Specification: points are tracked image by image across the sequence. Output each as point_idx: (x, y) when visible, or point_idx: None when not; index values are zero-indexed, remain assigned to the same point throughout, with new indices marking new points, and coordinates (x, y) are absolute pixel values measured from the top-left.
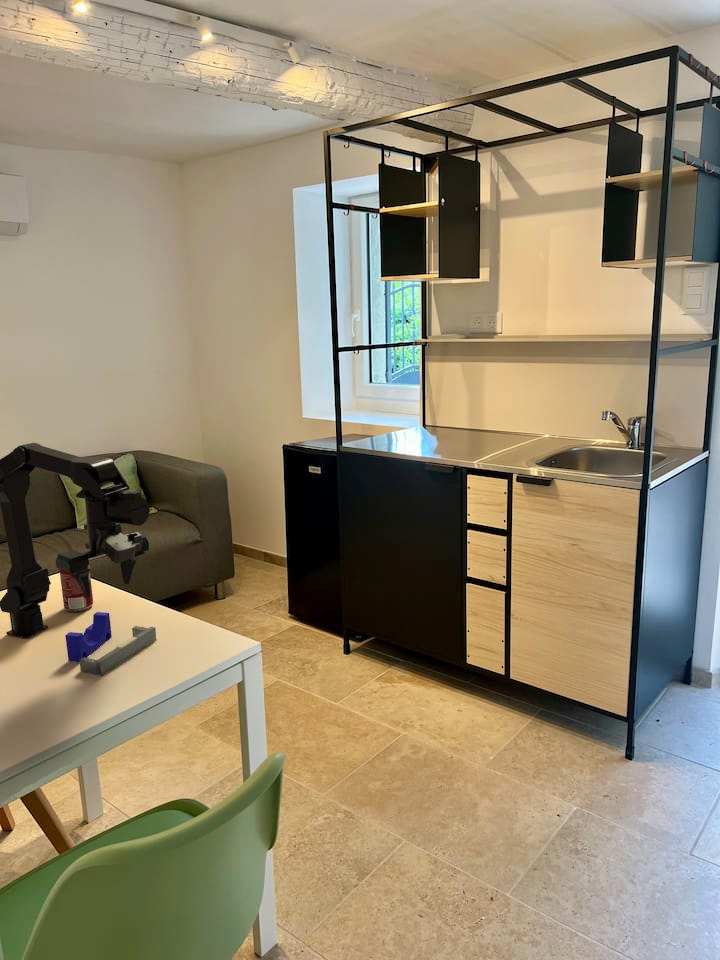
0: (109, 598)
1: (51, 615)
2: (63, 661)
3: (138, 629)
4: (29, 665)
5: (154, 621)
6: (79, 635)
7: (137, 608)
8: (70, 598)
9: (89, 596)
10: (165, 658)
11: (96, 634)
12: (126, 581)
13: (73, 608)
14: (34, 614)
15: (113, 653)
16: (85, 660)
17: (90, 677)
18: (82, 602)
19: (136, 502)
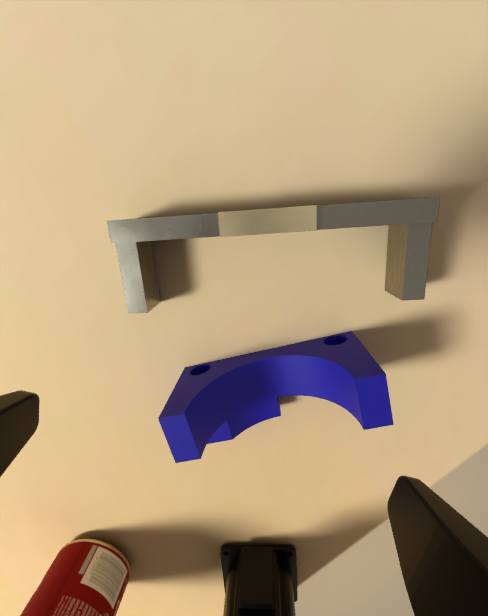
0: (14, 533)
1: (165, 581)
2: None
3: (143, 283)
4: (414, 443)
5: (38, 326)
6: (378, 374)
7: None
8: (109, 602)
9: (413, 483)
10: (222, 74)
11: (232, 392)
12: (14, 416)
13: (121, 562)
14: (261, 612)
15: (359, 203)
16: (422, 275)
17: None
18: (94, 564)
19: None
